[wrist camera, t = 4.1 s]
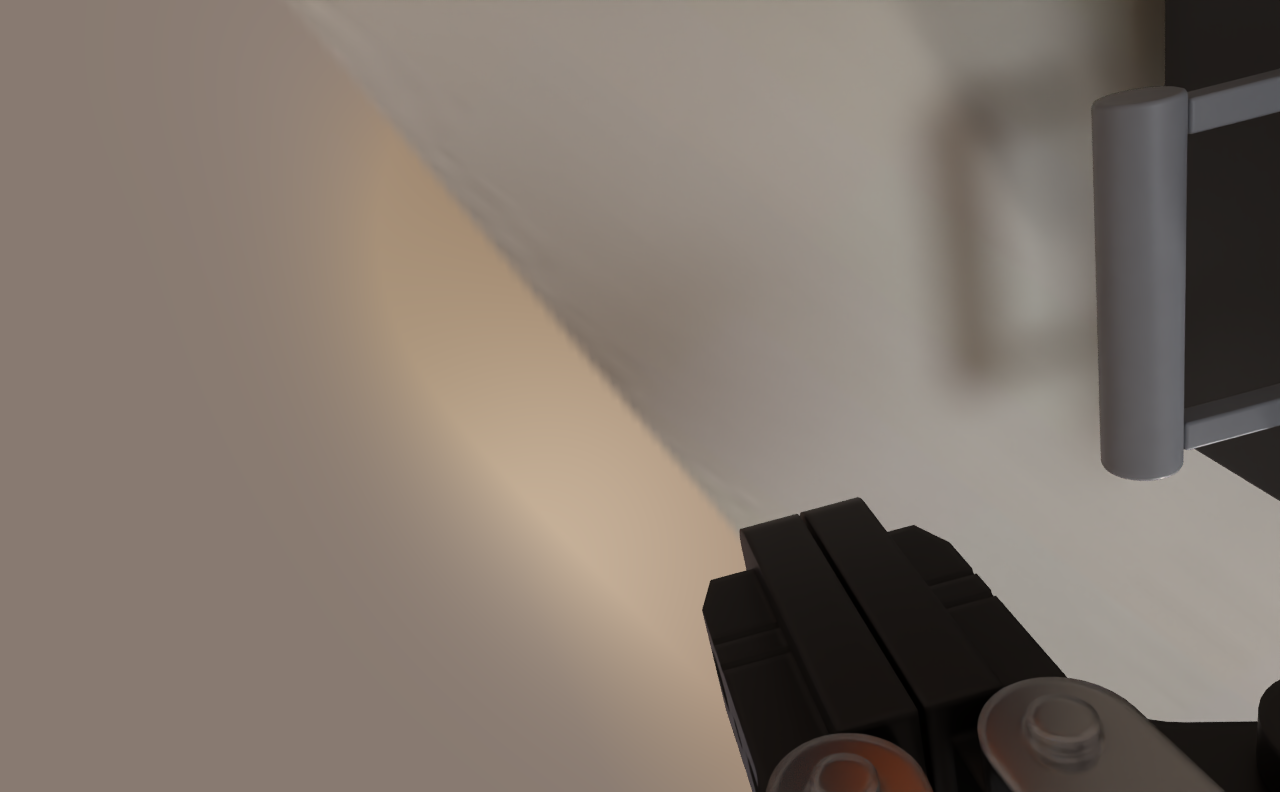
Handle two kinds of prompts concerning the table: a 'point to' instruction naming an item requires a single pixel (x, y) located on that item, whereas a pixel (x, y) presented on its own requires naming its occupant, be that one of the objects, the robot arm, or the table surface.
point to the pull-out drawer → (1192, 250)
